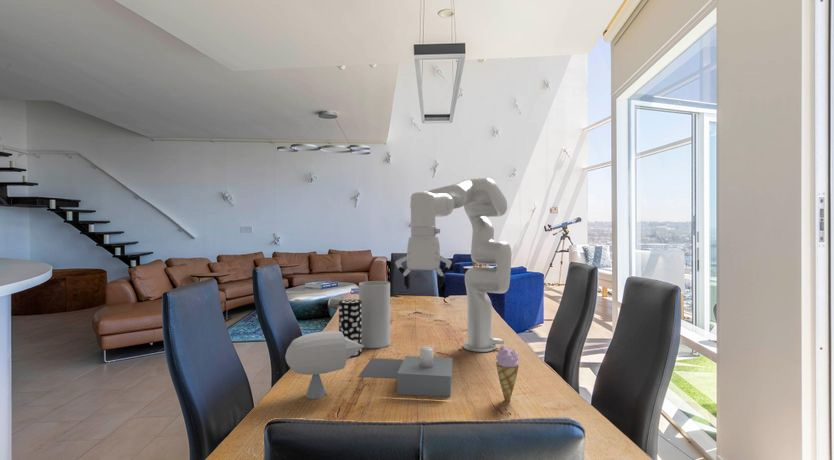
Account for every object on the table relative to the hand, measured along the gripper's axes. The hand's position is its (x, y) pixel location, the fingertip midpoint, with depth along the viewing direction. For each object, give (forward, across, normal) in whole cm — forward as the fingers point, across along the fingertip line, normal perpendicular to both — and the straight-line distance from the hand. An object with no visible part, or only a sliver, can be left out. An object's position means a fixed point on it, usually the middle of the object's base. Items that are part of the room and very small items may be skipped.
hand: (423, 288), depth 122 cm
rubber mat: (+29, +12, -9) cm, 32 cm away
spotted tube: (+29, +30, -23) cm, 47 cm away
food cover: (+28, -1, +4) cm, 29 cm away
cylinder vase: (+29, +24, -37) cm, 52 cm away
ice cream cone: (+29, -24, +11) cm, 39 cm away
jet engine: (+28, +27, +12) cm, 41 cm away
